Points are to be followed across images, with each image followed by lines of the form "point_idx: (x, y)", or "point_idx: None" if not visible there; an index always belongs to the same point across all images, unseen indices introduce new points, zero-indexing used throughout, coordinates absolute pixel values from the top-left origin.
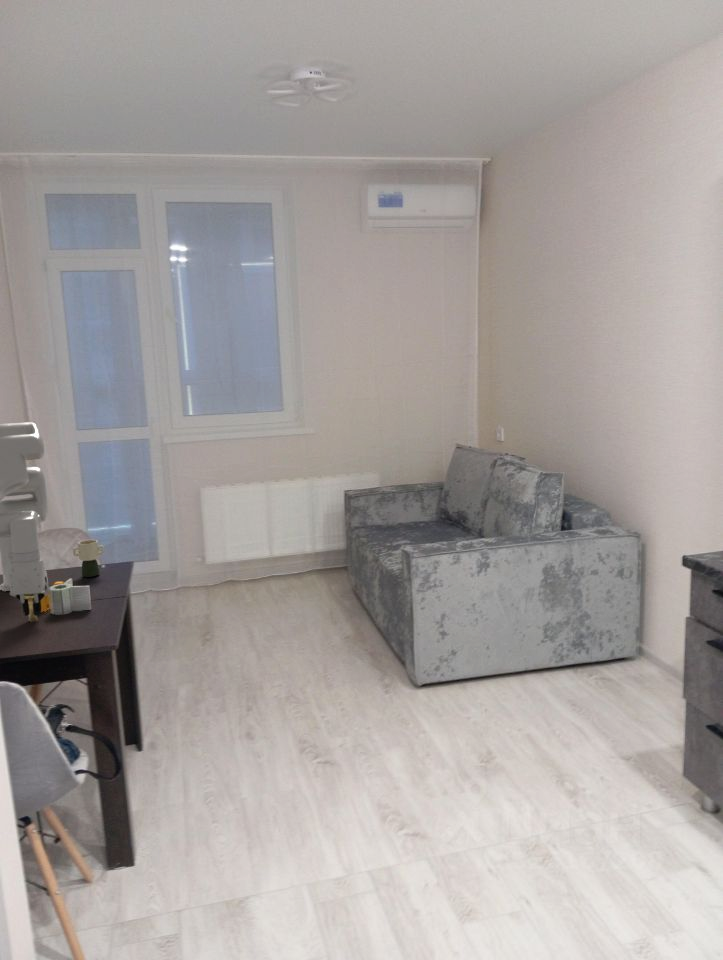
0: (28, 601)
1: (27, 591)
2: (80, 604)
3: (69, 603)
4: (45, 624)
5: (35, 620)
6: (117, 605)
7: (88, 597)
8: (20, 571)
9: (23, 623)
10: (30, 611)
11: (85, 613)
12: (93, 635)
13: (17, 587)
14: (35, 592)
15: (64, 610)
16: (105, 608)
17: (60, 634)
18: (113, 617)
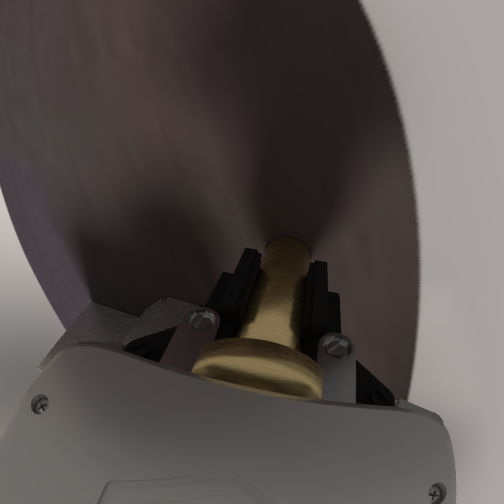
0: (281, 339)
1: (223, 415)
2: (106, 329)
3: (127, 337)
4: (191, 173)
5: (270, 245)
6: (57, 313)
7: (65, 336)
8: None
9: (336, 225)
10: (284, 277)
11: (91, 279)
12: (4, 52)
13: (370, 497)
14: (125, 366)
15: (152, 310)
16: (67, 303)
17: (79, 31)
18: (11, 213)
